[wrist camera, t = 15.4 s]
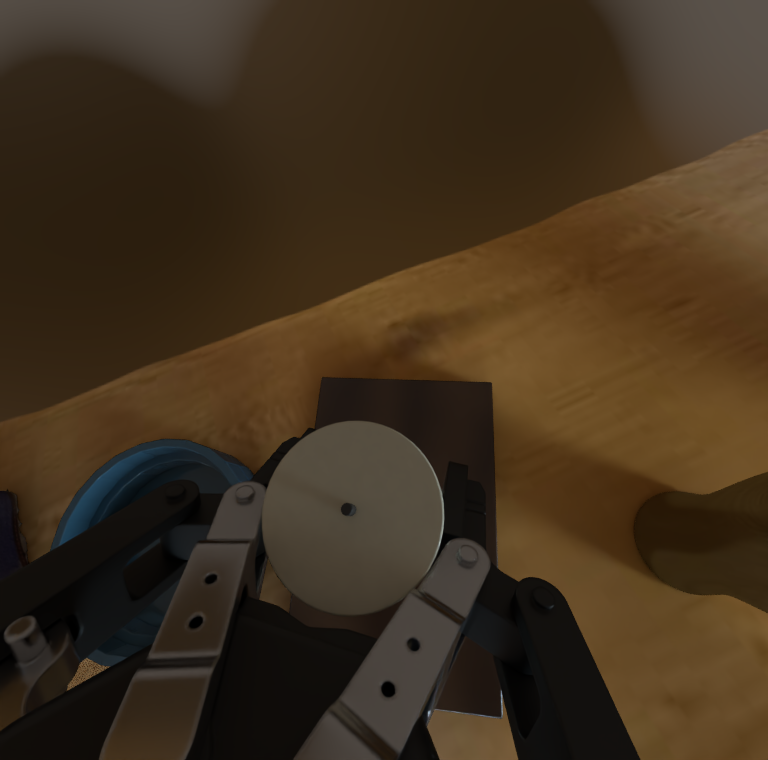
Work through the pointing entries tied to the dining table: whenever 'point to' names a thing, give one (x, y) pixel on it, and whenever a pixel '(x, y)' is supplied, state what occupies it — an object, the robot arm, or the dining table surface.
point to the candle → (352, 518)
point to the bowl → (126, 485)
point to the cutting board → (440, 445)
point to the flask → (10, 536)
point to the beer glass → (709, 540)
